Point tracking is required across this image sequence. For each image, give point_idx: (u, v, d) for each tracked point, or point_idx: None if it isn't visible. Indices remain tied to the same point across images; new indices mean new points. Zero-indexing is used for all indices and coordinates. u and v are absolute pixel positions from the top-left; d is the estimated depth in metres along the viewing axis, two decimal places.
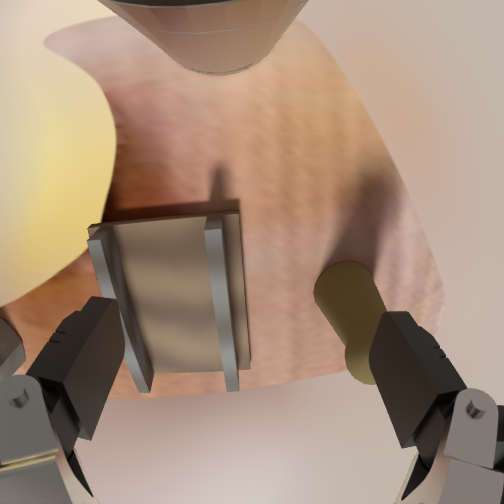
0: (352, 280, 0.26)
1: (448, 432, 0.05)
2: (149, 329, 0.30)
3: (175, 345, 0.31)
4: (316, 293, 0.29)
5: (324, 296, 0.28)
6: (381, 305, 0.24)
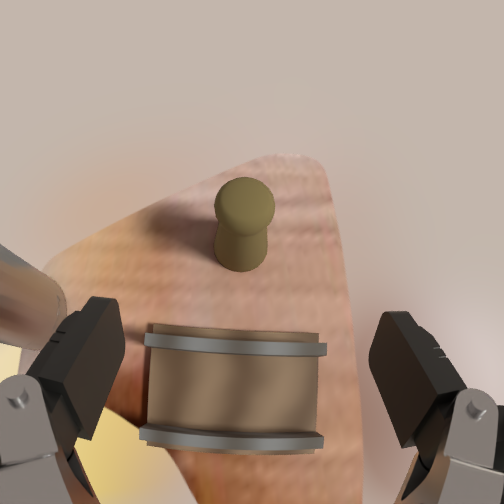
0: (216, 237, 0.33)
1: (448, 432, 0.05)
2: (256, 422, 0.29)
3: (278, 402, 0.30)
4: (237, 269, 0.35)
5: (232, 261, 0.33)
6: None
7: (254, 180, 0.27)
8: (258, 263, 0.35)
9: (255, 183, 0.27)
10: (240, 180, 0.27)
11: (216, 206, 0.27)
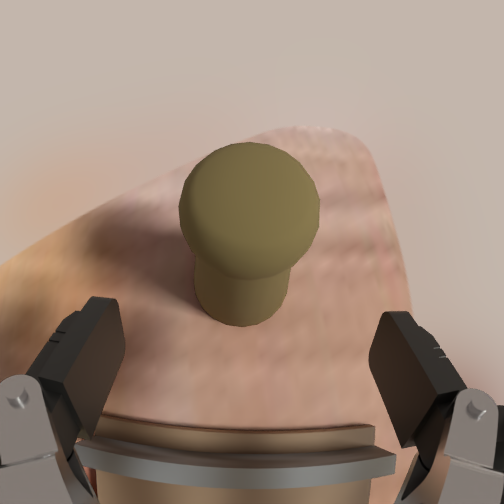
0: (195, 268, 0.18)
1: (448, 432, 0.05)
2: None
3: None
4: (235, 323, 0.19)
5: (225, 313, 0.18)
6: None
7: (271, 149, 0.11)
8: (273, 311, 0.19)
9: (274, 155, 0.11)
10: (239, 147, 0.11)
11: (181, 211, 0.11)
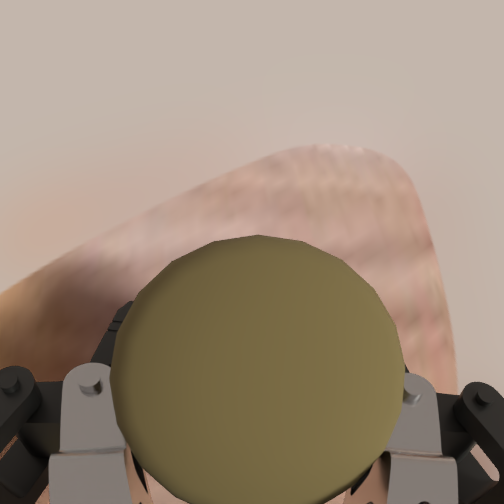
0: None
1: None
2: None
3: None
4: None
5: None
6: None
7: (315, 262, 0.05)
8: None
9: (323, 284, 0.05)
10: (236, 263, 0.05)
11: (114, 406, 0.04)
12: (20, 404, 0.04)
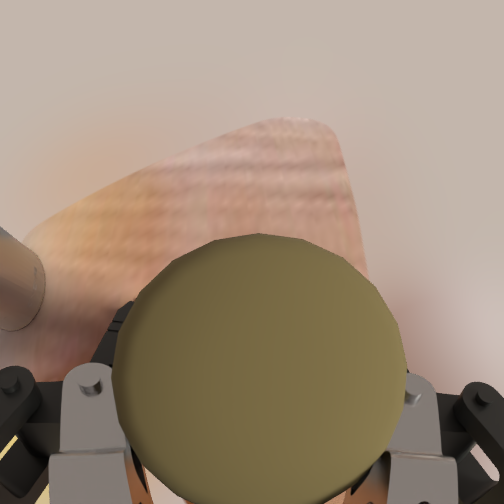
0: None
1: None
2: None
3: None
4: None
5: None
6: None
7: (315, 260, 0.05)
8: None
9: (323, 282, 0.05)
10: (236, 261, 0.05)
11: (116, 405, 0.04)
12: (20, 404, 0.04)
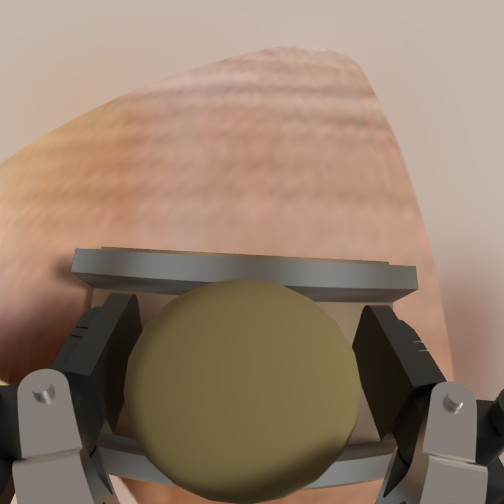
0: None
1: (425, 428, 0.05)
2: None
3: None
4: None
5: None
6: None
7: (284, 305, 0.06)
8: None
9: (289, 324, 0.06)
10: (221, 306, 0.06)
11: (128, 413, 0.06)
12: None
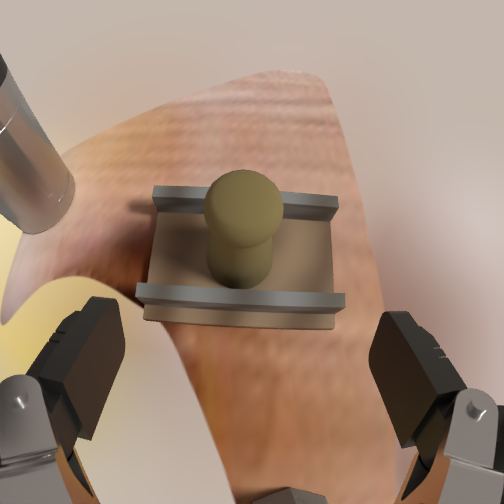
0: (208, 247, 0.27)
1: (448, 432, 0.05)
2: (267, 287, 0.29)
3: (291, 265, 0.30)
4: (235, 286, 0.28)
5: (228, 277, 0.27)
6: None
7: (256, 174, 0.20)
8: (261, 279, 0.28)
9: (257, 177, 0.20)
10: (237, 173, 0.20)
11: (205, 208, 0.20)
12: None
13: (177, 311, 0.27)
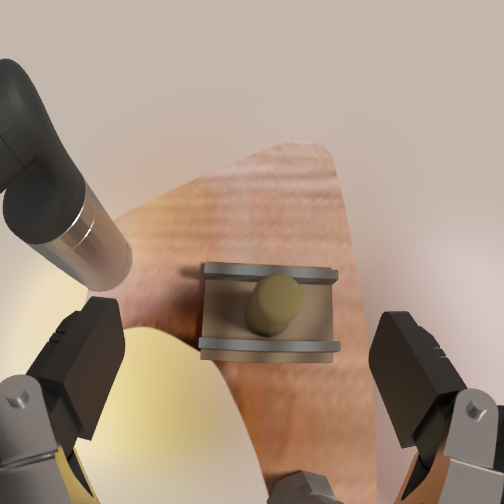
0: (248, 311, 0.38)
1: (448, 432, 0.05)
2: (287, 335, 0.40)
3: (303, 319, 0.41)
4: (265, 336, 0.40)
5: (262, 332, 0.38)
6: None
7: (286, 278, 0.32)
8: (283, 330, 0.40)
9: (287, 281, 0.32)
10: (274, 278, 0.32)
11: (254, 302, 0.32)
12: None
13: (225, 353, 0.39)
